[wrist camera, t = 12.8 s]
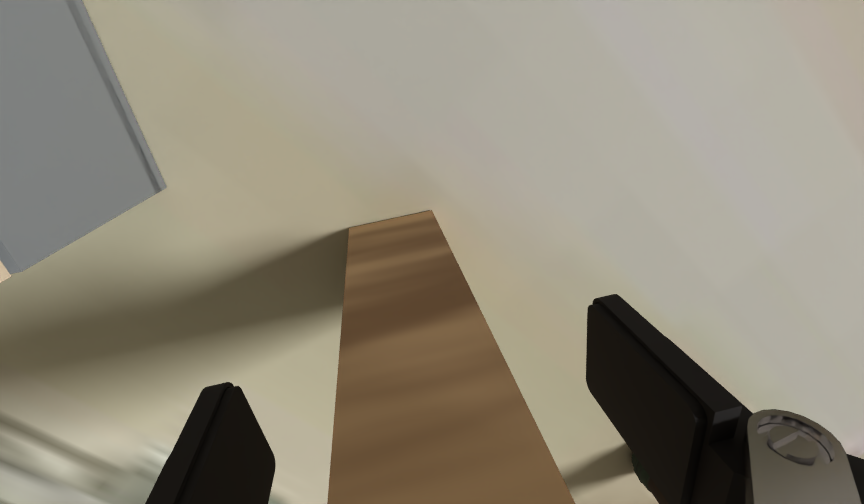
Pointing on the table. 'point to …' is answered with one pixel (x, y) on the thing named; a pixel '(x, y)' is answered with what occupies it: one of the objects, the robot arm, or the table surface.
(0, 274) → the lid
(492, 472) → the brown wooden bar
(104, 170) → the grey open box
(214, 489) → the robot arm
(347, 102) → the table surface
